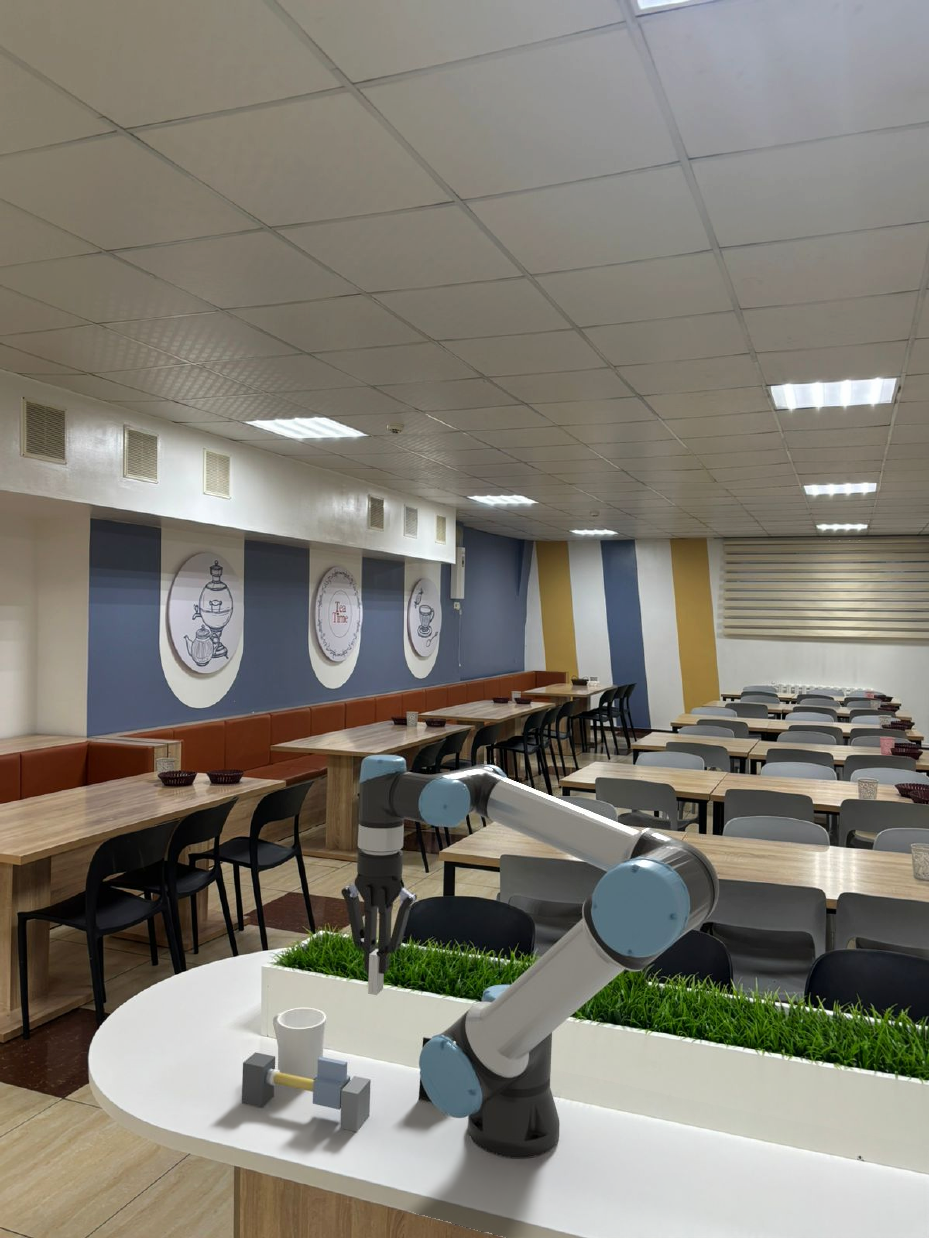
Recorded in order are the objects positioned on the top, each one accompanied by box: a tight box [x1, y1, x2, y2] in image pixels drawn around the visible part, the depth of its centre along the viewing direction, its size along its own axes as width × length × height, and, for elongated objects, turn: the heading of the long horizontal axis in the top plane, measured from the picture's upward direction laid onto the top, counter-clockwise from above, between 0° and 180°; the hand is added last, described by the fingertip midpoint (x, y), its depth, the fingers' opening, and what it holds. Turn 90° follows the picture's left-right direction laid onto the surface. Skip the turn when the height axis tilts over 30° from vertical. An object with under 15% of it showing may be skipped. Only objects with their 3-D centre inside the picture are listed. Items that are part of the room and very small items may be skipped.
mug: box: [272, 1007, 327, 1080], centre depth 165 cm, size 11×9×10 cm
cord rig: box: [241, 1052, 371, 1133], centre depth 152 cm, size 22×5×7 cm, turn 72°
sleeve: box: [312, 1056, 351, 1111], centre depth 150 cm, size 5×4×7 cm
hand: (375, 990), depth 148 cm, fingers closed
